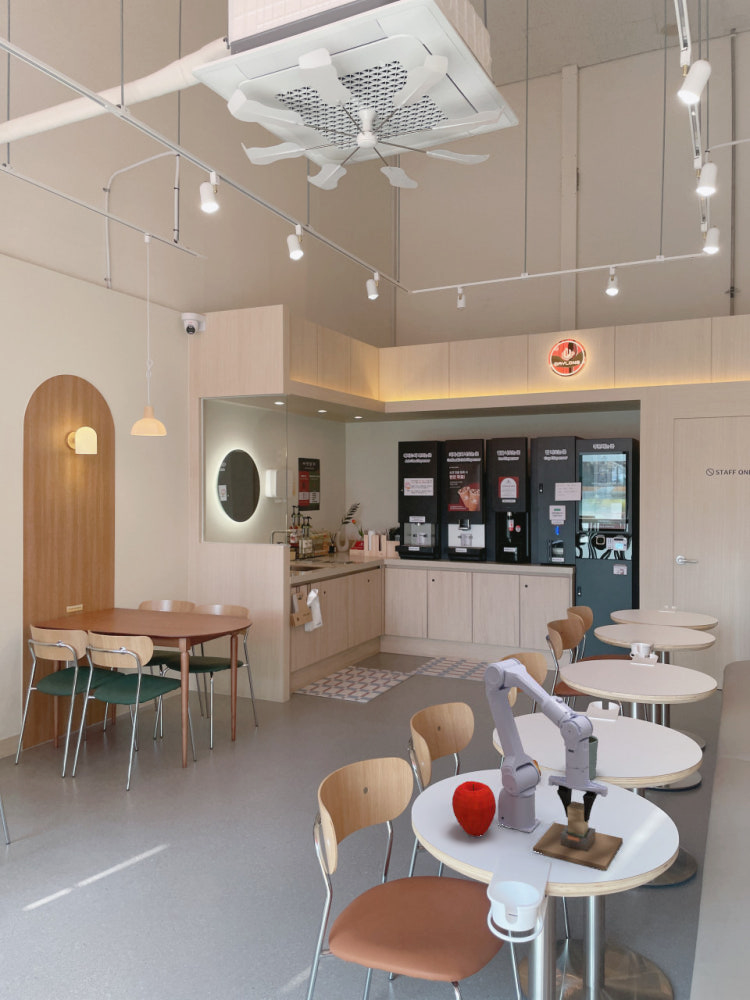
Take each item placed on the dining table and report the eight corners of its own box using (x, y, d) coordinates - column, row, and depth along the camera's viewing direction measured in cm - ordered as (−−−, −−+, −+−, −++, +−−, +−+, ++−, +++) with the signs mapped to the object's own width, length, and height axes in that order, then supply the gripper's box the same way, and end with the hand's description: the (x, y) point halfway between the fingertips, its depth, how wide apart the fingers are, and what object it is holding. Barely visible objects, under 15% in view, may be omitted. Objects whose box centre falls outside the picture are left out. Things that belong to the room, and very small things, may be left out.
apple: (444, 827, 202) (443, 778, 202) (482, 820, 206) (482, 771, 206) (464, 847, 191) (463, 795, 191) (505, 839, 195) (504, 788, 195)
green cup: (564, 780, 232) (563, 741, 232) (565, 768, 242) (565, 731, 242) (598, 783, 229) (598, 744, 229) (598, 771, 239) (598, 733, 239)
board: (532, 852, 188) (532, 847, 188) (554, 826, 201) (554, 822, 201) (605, 871, 178) (605, 866, 178) (622, 842, 192) (622, 838, 192)
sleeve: (560, 846, 188) (559, 834, 188) (569, 834, 195) (569, 822, 194) (587, 852, 185) (586, 840, 185) (595, 840, 191) (595, 828, 191)
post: (567, 834, 189) (567, 807, 189) (572, 828, 193) (572, 801, 192) (583, 838, 187) (583, 810, 187) (588, 831, 190) (588, 804, 190)
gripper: (610, 765, 189) (611, 818, 189) (554, 754, 197) (555, 806, 197) (602, 774, 183) (603, 829, 183) (545, 763, 191) (546, 816, 191)
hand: (577, 818), depth 190 cm, fingers closed on post, 4 cm apart
